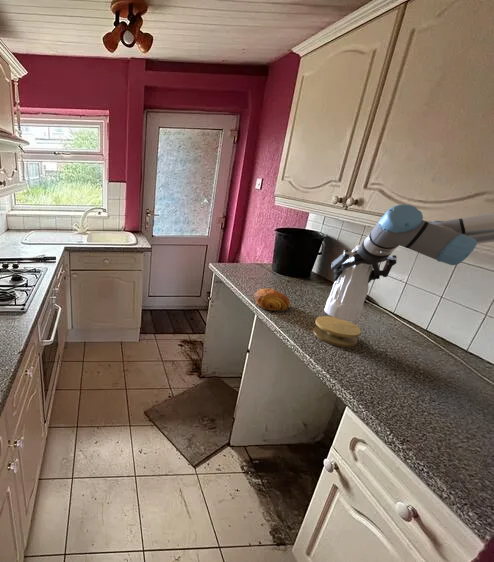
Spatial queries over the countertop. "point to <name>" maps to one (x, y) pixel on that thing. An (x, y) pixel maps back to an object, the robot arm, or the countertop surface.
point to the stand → (336, 331)
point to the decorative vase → (349, 292)
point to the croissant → (271, 299)
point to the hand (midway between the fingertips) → (349, 279)
